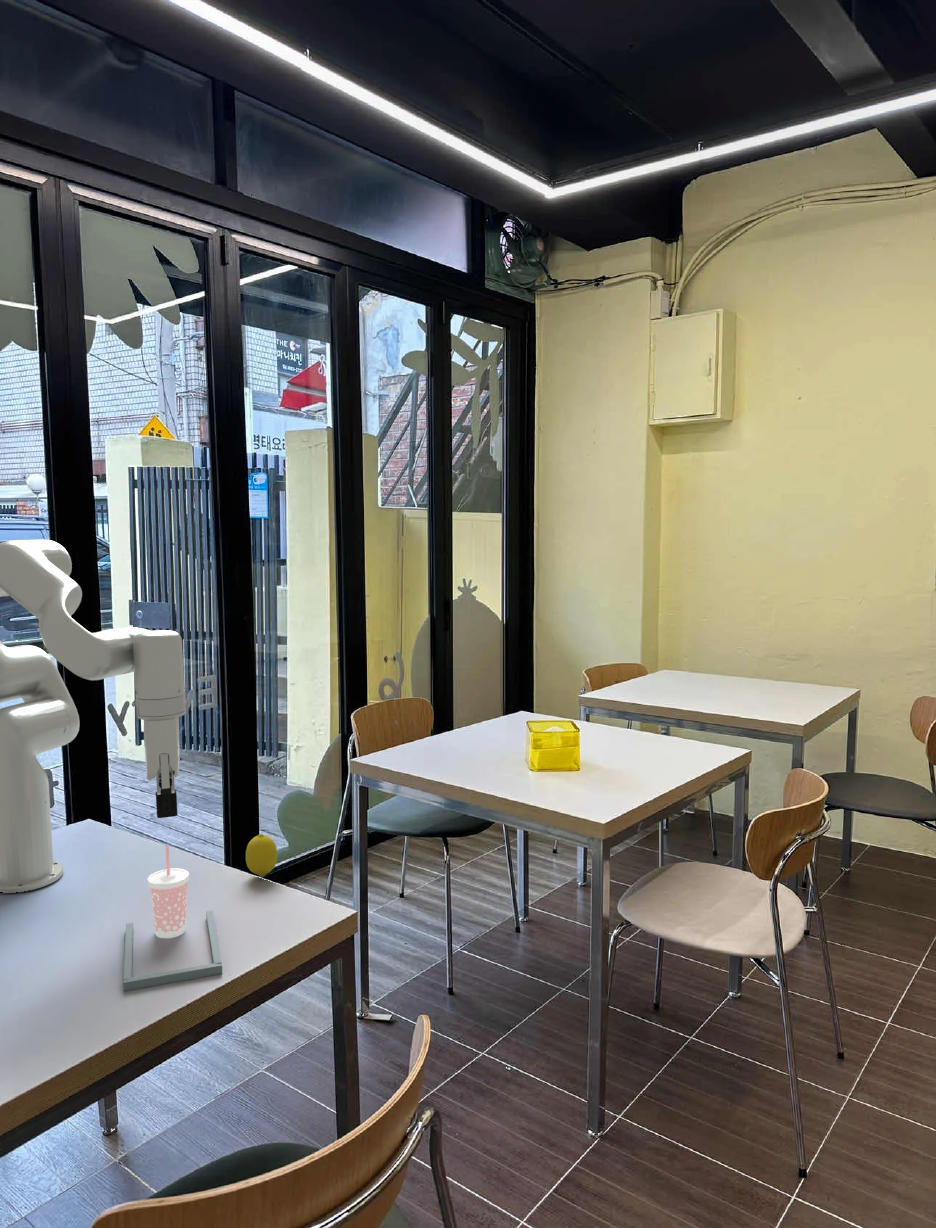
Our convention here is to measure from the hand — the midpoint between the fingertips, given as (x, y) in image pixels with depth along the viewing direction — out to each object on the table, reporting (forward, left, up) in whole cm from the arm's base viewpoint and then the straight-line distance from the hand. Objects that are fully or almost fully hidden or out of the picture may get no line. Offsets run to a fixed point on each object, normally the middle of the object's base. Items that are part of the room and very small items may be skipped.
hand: (167, 815), depth 142 cm
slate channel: (+17, 0, -15) cm, 23 cm away
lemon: (-6, +16, -16) cm, 23 cm away
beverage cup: (+10, 0, -16) cm, 18 cm away
